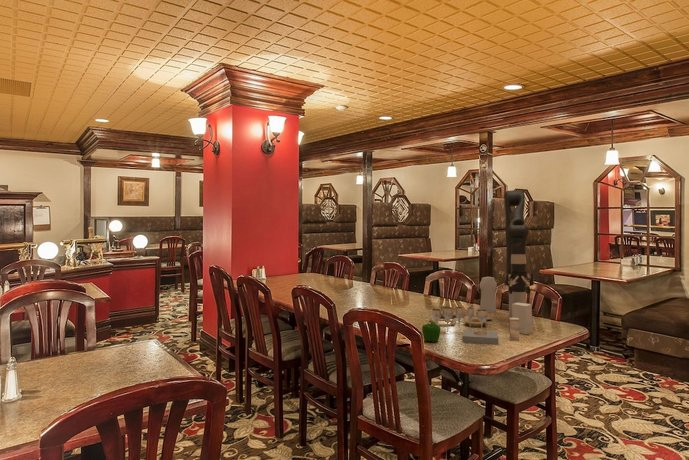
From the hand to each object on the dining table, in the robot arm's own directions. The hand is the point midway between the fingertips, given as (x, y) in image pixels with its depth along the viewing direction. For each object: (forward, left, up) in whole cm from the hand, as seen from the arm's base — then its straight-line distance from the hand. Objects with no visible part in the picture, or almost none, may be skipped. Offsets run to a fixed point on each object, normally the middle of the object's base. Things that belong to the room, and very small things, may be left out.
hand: (519, 293), depth 238 cm
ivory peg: (+20, -4, -19) cm, 28 cm away
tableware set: (-12, -30, -20) cm, 38 cm away
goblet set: (+14, -30, -19) cm, 38 cm away
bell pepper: (+32, -43, -19) cm, 57 cm away
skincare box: (+6, +1, -19) cm, 20 cm away
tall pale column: (-39, -14, -19) cm, 46 cm away
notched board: (+25, -20, -19) cm, 37 cm away
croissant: (+42, -61, -19) cm, 77 cm away
